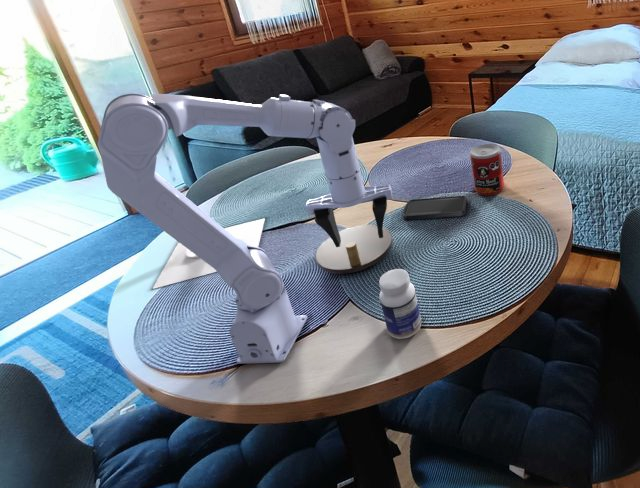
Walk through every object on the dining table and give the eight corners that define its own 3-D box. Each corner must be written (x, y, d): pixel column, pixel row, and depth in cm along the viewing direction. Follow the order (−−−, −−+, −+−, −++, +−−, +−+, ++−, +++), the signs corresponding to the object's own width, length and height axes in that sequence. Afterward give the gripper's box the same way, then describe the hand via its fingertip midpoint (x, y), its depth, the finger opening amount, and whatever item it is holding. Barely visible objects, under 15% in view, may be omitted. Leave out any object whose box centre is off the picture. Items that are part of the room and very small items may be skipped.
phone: (408, 199, 109) (466, 195, 108) (408, 203, 110) (467, 199, 108) (401, 216, 102) (464, 211, 100) (402, 220, 102) (464, 216, 101)
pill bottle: (383, 322, 73) (371, 274, 69) (415, 309, 75) (405, 261, 71) (393, 346, 68) (380, 295, 64) (427, 331, 70) (417, 281, 66)
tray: (382, 271, 84) (376, 248, 82) (303, 276, 85) (296, 253, 83) (400, 225, 98) (395, 205, 96) (332, 230, 100) (327, 210, 98)
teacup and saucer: (229, 234, 107) (224, 220, 105) (223, 252, 99) (217, 237, 98) (190, 244, 104) (184, 230, 103) (181, 263, 97) (174, 247, 96)
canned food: (471, 195, 110) (465, 156, 106) (479, 181, 117) (474, 143, 113) (500, 196, 108) (496, 156, 104) (507, 181, 115) (503, 143, 111)
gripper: (385, 155, 78) (398, 220, 83) (303, 170, 76) (322, 235, 81) (386, 171, 72) (400, 240, 76) (296, 188, 70) (317, 257, 75)
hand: (360, 239), depth 78 cm, fingers open, 7 cm apart
